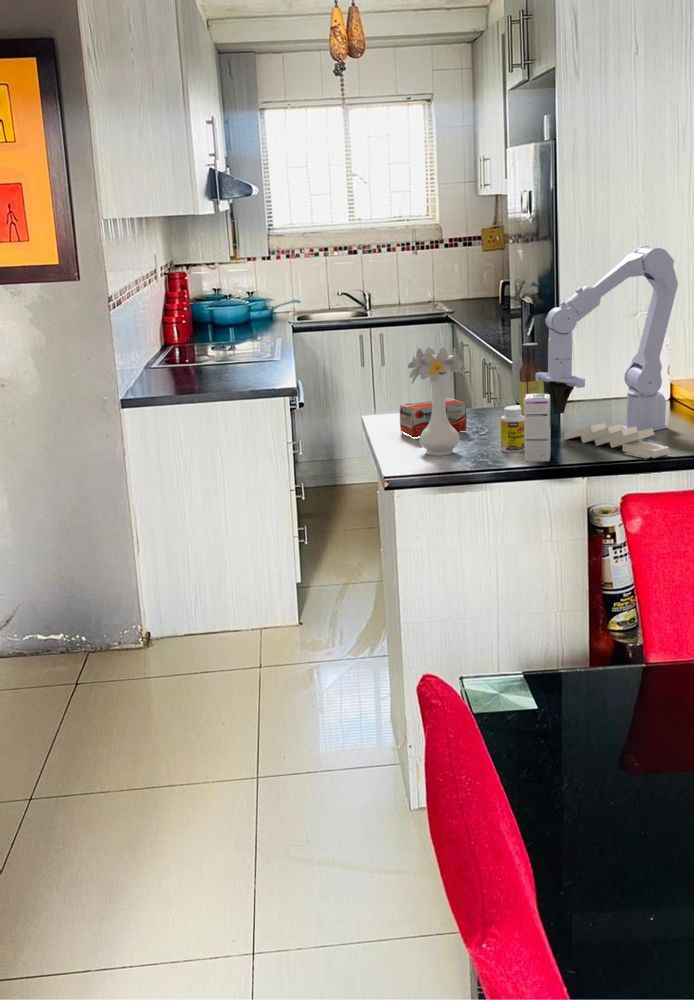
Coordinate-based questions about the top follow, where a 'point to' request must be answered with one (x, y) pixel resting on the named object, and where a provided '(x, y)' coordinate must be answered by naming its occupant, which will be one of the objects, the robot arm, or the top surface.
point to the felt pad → (635, 454)
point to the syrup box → (537, 427)
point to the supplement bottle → (512, 430)
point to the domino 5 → (645, 449)
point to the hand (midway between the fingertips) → (559, 413)
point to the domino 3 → (615, 435)
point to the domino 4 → (632, 437)
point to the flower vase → (437, 398)
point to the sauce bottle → (529, 373)
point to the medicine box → (419, 416)
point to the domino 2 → (601, 433)
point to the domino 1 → (584, 431)
